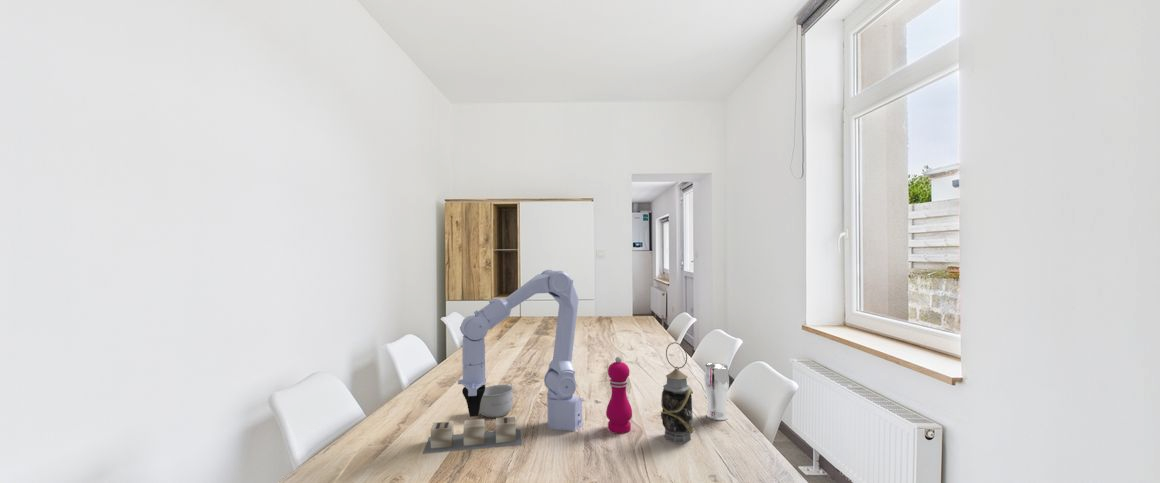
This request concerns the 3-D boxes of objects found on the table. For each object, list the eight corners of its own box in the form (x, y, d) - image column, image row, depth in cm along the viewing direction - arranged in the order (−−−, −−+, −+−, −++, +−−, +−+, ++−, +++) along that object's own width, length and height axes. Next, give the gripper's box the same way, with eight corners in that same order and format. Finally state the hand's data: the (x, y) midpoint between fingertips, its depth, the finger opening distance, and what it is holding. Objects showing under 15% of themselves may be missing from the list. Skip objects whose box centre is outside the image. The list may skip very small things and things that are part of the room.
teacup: (493, 425, 129) (493, 396, 130) (469, 417, 136) (469, 390, 136) (527, 411, 140) (527, 385, 141) (503, 404, 147) (503, 379, 147)
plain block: (484, 436, 120) (484, 418, 120) (484, 443, 115) (483, 426, 115) (465, 437, 119) (465, 420, 119) (463, 445, 114) (463, 427, 114)
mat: (520, 432, 124) (520, 429, 124) (522, 448, 114) (522, 444, 114) (429, 439, 120) (429, 436, 120) (422, 456, 110) (422, 453, 110)
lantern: (700, 438, 118) (698, 342, 119) (681, 447, 113) (680, 347, 113) (673, 429, 125) (671, 338, 125) (654, 437, 119) (653, 342, 120)
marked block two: (453, 438, 118) (453, 420, 118) (451, 446, 113) (451, 428, 113) (433, 440, 117) (433, 422, 118) (430, 448, 112) (430, 429, 113)
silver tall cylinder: (726, 412, 137) (725, 362, 137) (732, 421, 130) (731, 369, 130) (703, 412, 137) (702, 362, 138) (707, 420, 131) (706, 368, 131)
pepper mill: (631, 435, 121) (630, 360, 121) (604, 433, 122) (603, 359, 123) (633, 425, 128) (632, 354, 128) (608, 423, 130) (607, 353, 130)
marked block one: (515, 433, 121) (514, 416, 121) (515, 441, 116) (515, 423, 116) (496, 435, 120) (495, 417, 120) (495, 442, 115) (495, 424, 115)
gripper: (460, 357, 124) (460, 407, 123) (455, 370, 109) (455, 427, 109) (486, 355, 125) (487, 405, 125) (485, 369, 111) (485, 425, 110)
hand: (474, 415), depth 117 cm, fingers closed
